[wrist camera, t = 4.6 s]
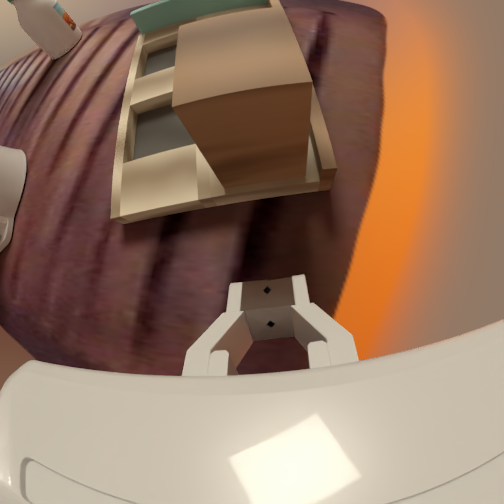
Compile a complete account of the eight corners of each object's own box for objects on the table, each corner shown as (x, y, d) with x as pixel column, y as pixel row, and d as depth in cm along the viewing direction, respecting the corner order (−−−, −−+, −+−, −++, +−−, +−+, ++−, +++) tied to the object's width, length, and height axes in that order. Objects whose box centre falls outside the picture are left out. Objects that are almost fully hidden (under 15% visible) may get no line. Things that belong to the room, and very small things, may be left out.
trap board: (330, 189, 21) (337, 167, 17) (122, 224, 23) (96, 212, 19) (277, 14, 26) (274, -9, 22) (144, 45, 28) (132, 26, 24)
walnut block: (305, 176, 20) (312, 81, 10) (224, 188, 20) (171, 106, 10) (289, 103, 21) (281, 6, 11) (218, 114, 21) (179, 26, 12)
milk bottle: (77, 48, 31) (21, -16, 12) (47, 66, 32) (-8, 12, 13) (87, 27, 33) (41, -32, 13) (59, 44, 34) (11, -8, 14)
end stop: (280, 13, 26) (276, -22, 20) (147, 44, 28) (130, 15, 22) (279, 10, 26) (275, -24, 20) (148, 40, 28) (131, 11, 22)
